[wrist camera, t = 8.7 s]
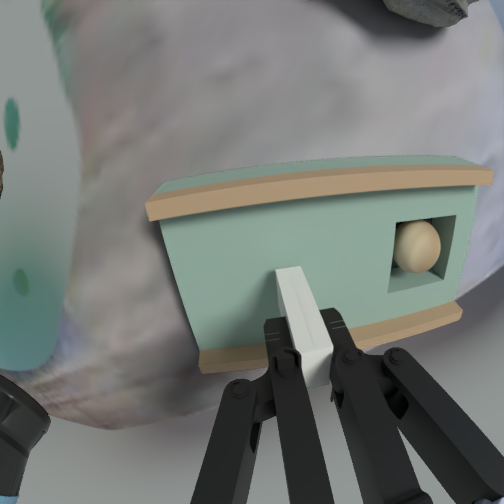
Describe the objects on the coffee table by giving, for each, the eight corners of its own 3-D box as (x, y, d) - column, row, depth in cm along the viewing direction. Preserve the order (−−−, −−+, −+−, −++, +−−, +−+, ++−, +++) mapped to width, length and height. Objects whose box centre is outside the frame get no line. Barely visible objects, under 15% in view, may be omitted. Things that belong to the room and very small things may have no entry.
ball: (377, 263, 21) (409, 290, 17) (382, 215, 19) (419, 237, 15) (413, 252, 21) (444, 275, 18) (419, 208, 20) (455, 227, 16)
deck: (205, 333, 23) (201, 373, 19) (164, 181, 17) (144, 203, 13) (435, 291, 23) (459, 319, 19) (455, 156, 17) (493, 170, 13)
